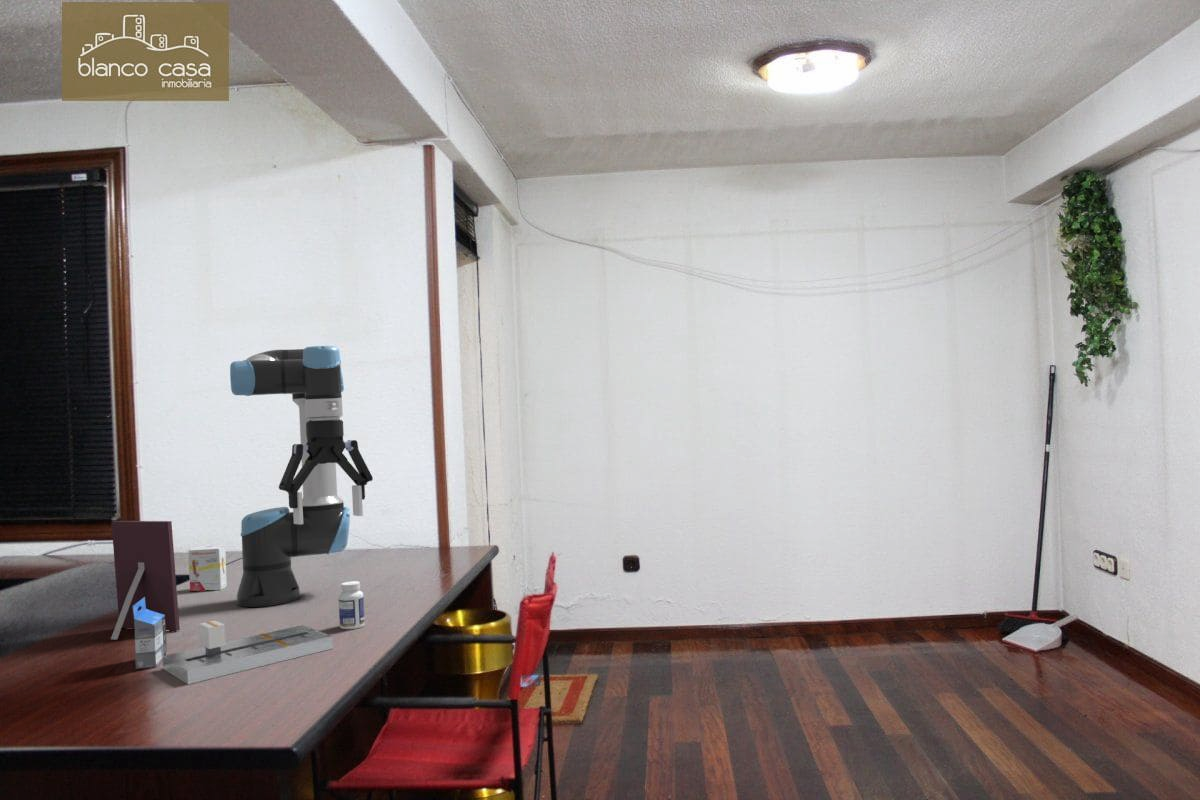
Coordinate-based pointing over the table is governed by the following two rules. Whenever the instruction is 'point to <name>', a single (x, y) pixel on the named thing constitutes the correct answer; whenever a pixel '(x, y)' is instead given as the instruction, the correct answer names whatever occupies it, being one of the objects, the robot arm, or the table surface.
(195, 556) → the ink box
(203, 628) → the fader knob
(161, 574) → the picture frame
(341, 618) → the pill bottle
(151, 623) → the label tape cartridge
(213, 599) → the table surface
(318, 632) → the console
